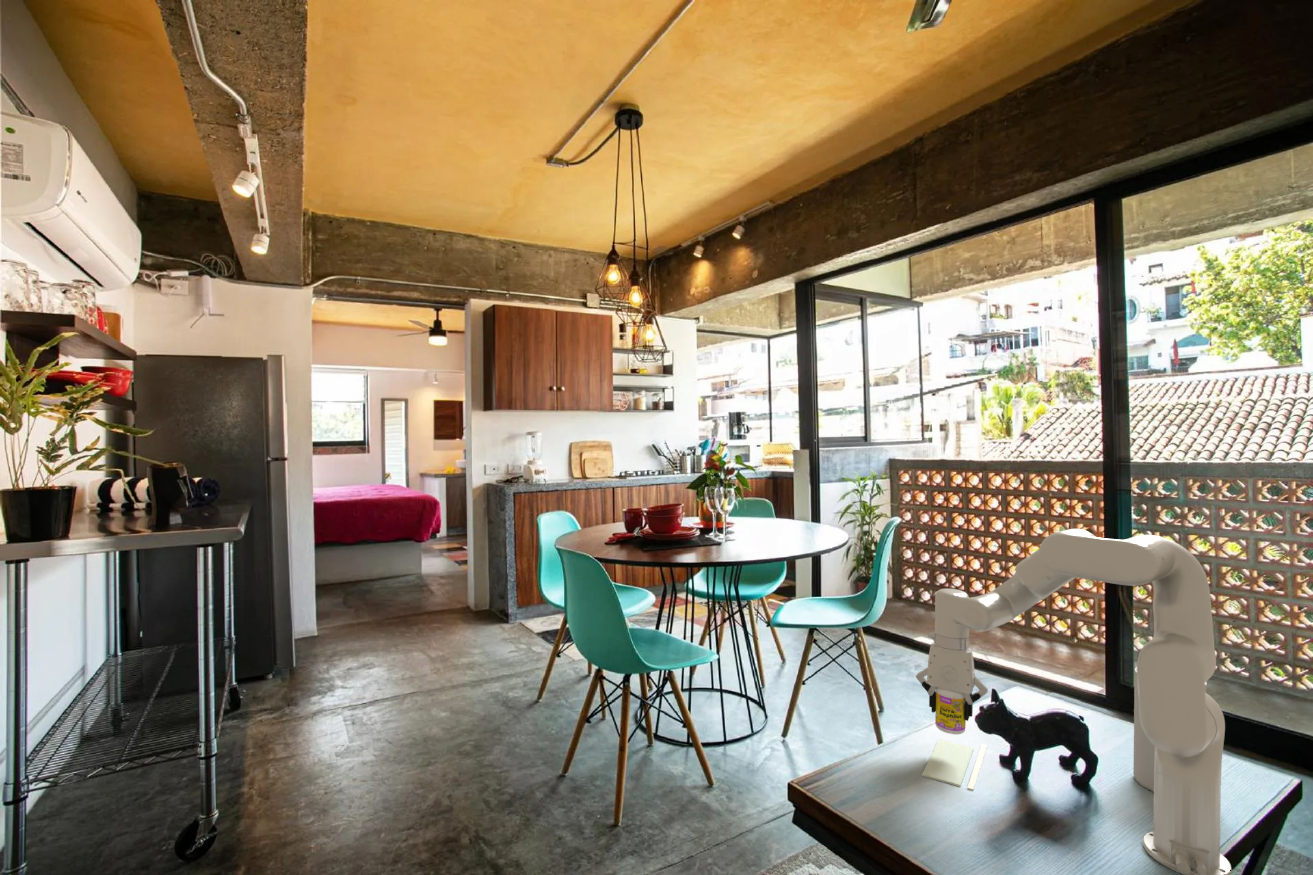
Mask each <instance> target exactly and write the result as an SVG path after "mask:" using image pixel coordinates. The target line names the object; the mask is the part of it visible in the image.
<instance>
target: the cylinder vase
mask: <svg viewBox="0 0 1313 875" xmlns="http://www.w3.org/2000/svg"><path fill="white" fill-rule="evenodd" d="M1207 683H1208V681H1206V682H1205V693H1207V685H1208V684H1207ZM1133 687H1134V690H1133V692H1134V694H1133V696H1134V697H1133V698H1134V700H1133V702H1134V704H1133V705H1134V706H1133V707H1134V708H1133V712H1134V713H1133V714H1134V715H1133V777H1134V779H1135V781H1136V782H1138V784H1140V786H1142V787H1144V788H1145V789H1147V790H1148V789H1149V790H1148V791H1150V790H1151V791H1150V792H1152V791H1153V793H1154V758H1155V746H1154V745H1153V744H1152V743H1151V742H1150V741H1149V739H1148V738H1147V737H1146V735H1145V733H1144V731H1143V729H1142V726H1141V723H1140V716H1139V700H1138V680H1137V666H1136V667H1135V668H1134V686H1133ZM1207 694H1208V693H1207Z"/></svg>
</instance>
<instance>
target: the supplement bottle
mask: <svg viewBox="0 0 1313 875" xmlns="http://www.w3.org/2000/svg"><path fill="white" fill-rule="evenodd" d="M935 691H936V711H935V718H934V720H935V726H936V728H937V729H938V730H939V731H941V732H943V733H946V734H950V735H961V734H964V733H965V731H966V720H965V703H966V699H965V696H964V694H962V693H957V692H953V691H949V690H944V689H939V688H936V690H935Z"/></svg>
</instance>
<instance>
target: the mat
mask: <svg viewBox="0 0 1313 875" xmlns="http://www.w3.org/2000/svg"><path fill="white" fill-rule="evenodd" d="M973 752H974V747H970V746H966V745H963V744H959V743H955V742H952V741H948V740H943V739H938V740H937V743H936V744H935V747H934V749H933V751H932V753H931V755H930V757H929V759H928V762H927V764H926V765H925V768H924V770H923V772H922V776H923V777H925V778H928V779H932V780H936V781H939V782H943V783H946V784H949V785H953V786H956V787H959V788H961V786H962V783H963V780H964V777H965V775H966V772H967V769H968V768H969V767H968V766H969V764H970V760H971V758H972V755H973Z"/></svg>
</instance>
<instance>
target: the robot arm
mask: <svg viewBox="0 0 1313 875" xmlns="http://www.w3.org/2000/svg"><path fill="white" fill-rule="evenodd" d="M1076 578H1077V579H1083V580H1087V581H1088V580H1090V581H1094V582H1095V581H1096V582H1101V583H1107V584H1108V583H1109V584H1115V585H1121V586H1130V587H1132V586H1133V587H1135V586H1143V585H1147V584H1150V583H1151V584H1152V588H1153V597H1152V612H1153V637H1152V638H1151V640H1149V641H1148V642H1146V643H1145V644H1144V645H1143V646H1142V648H1141V649H1140V651H1139V654H1138V657H1137V662H1136V667H1137V680H1138V700H1139V716H1140V723H1141V726H1142V729H1143V731H1144V733H1145V735H1146V737H1147V738H1148V739H1149V741H1150V742H1151V743H1152V744H1153V745H1154V746H1155V758H1154V792H1153V827H1152V828H1153V831H1149V832H1146V833H1145V834H1144V835H1143V837H1142V845H1143V848H1144V850H1145V851H1146V853H1147V854H1148V855H1150V856H1151V858H1153V859H1154V860H1155V861H1157V862H1158V863H1160V864H1161V865H1162V866H1165V867H1167V868H1169V869H1170V870H1173V871H1175V872H1177V873H1178V874H1182V875H1232V865H1231V863H1230V861H1229V860H1228V859H1227V858H1226V857H1225V856H1224V855H1223V854H1222V853H1221V811H1222V810H1221V809H1222V808H1221V805H1222V803H1221V801H1222V800H1221V798H1222V796H1221V795H1222V792H1221V791H1222V787H1221V786H1222V767H1223V762H1222V761H1223V752H1224V751H1223V750H1224V742H1225V732H1226V722H1225V721H1226V720H1225V716H1224V713H1223V711H1222V709H1221V706H1220V705H1219V704H1218V702H1217V701H1216V700H1215V699H1214V698H1213V697H1212V696H1211V695H1210V694H1208V693H1205V682H1208V680H1209V679H1210V678H1212V676H1213V675H1214V674H1215V671H1216V670H1217V669H1216V668H1217V658H1216V649H1215V638H1214V622H1213V616H1212V615H1213V613H1212V612H1213V611H1212V604H1211V603H1212V601H1211V600H1212V599H1211V591H1210V586H1209V585H1210V584H1209V580H1208V577H1207V574H1206V572H1205V570H1204V568H1203V566H1202V564H1201V563H1200V561H1199V560H1198V559H1197V558H1196V556H1194V555H1193V553H1192V552H1190V551H1189V550H1188V549H1187V548H1185V547H1184V546H1183V545H1181V544H1179V543H1177V542H1175V541H1173V540H1170V539H1169V538H1166V537H1163V536H1159V535H1153V534H1141V535H1134V536H1132V537H1129V538H1126V539H1116V538H1115V539H1114V538H1106V537H1105V538H1104V537H1096V535H1094V534H1093V533H1091V532H1090V531H1088V530H1086V529H1083V528H1069V529H1065V530H1064V529H1063V530H1060V531H1056V532H1053V533H1051V534H1049V535H1047V536H1046V537H1045V538H1044V539H1043V540H1042V542H1041V543H1040V546H1039V548H1038V549H1037V550H1035V551H1034V552H1033V553H1031V554H1030V555H1028V556H1027V557H1025V558H1023V559H1022V560H1021V561H1020V562H1018V563H1017V564H1016V566H1015V572H1014V574H1013V575H1012V576H1011V577H1010V578H1008V579H1007V580H1005V581H1004V582H1003V583H1002V584H1001V585H998V586H997V587H996V588H994V589H993V590H991V591H989V592H987V593H983V594H980V595H977V596H971V597H969V594H968V593H967V592H966V591H963V590H961V589H958V588H957V589H956V588H941V589H938V590H937V591H936V593H935V599H934V600H935V601H934V602H935V603H934V605H935V606H934V608H935V609H934V631H933V632H928V635H927V636H928V637H927V638H928V639H931V640H933V642H931V645H930V647H929V652H928V660H927V667H926V668H924V669H923V670H921V671H919V672H918V673H917V674H916V675H915V679H916V680H918V682H919V683H920V684H921V686H922V687H923V688H924V690H925V691H926V692H927V694H928V696H929V697H928V698H929V699H928V700H929V701H928V703H929V704H928V706H929V708H931V713H932V714H934V713H936V688H939V689H944V690H949V691H953V692H957V693H962V694H964V696H965V699H966V703H965V720H966V721H967V722H968V721H969V719H970V718H971V717H973V709H974V708H973V705H974V703H976V702H977V701H978V700H980V699H981V698H982V697H984V696H985V695H986V694H987V693H988V691H989V689H988V687H986V685H985V684H984V683H982V681H981V680H979V678H977V676H976V674H975V662H974V661H975V660H974V655H973V651H972V648H970V647H969V646H970V630H973V631H976V632H987V631H990V630H992V629H995V628H997V627H999V626H1002V625H1005V624H1007V623H1009V622H1010V621H1012V620H1014V619H1015V618H1017V617H1019V616H1020V615H1021V614H1023V613H1025V612H1026V611H1028V610H1030V609H1031V608H1032V607H1033V606H1035V605H1036V604H1038V603H1039V602H1041V601H1042V600H1045V599H1046V598H1047V597H1049V596H1050V595H1052V594H1053V593H1055V592H1056V591H1058V590H1059V589H1061V588H1062V587H1064V586H1065V585H1067V584H1068V583H1070V582H1071V581H1073V580H1075V579H1076ZM925 677H926V678H925ZM975 687H976V688H977V689H978V691H976V692H974V693H973V691H974V688H975ZM1230 870H1231V871H1230Z"/></svg>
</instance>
